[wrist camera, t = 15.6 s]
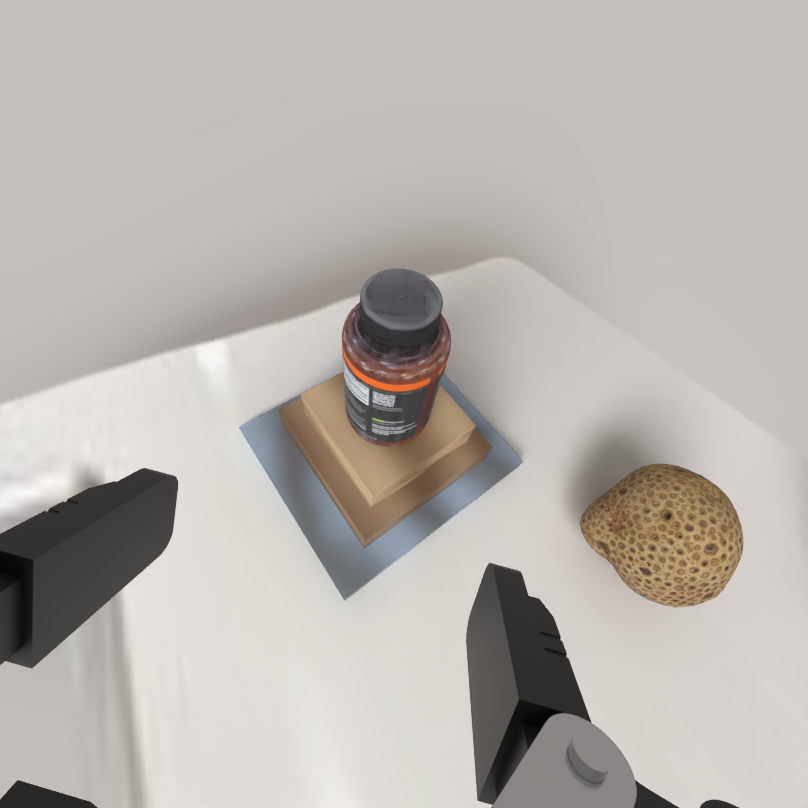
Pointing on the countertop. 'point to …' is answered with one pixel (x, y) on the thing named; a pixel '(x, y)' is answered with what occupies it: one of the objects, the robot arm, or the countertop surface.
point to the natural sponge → (667, 534)
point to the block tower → (374, 476)
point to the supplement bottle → (394, 356)
